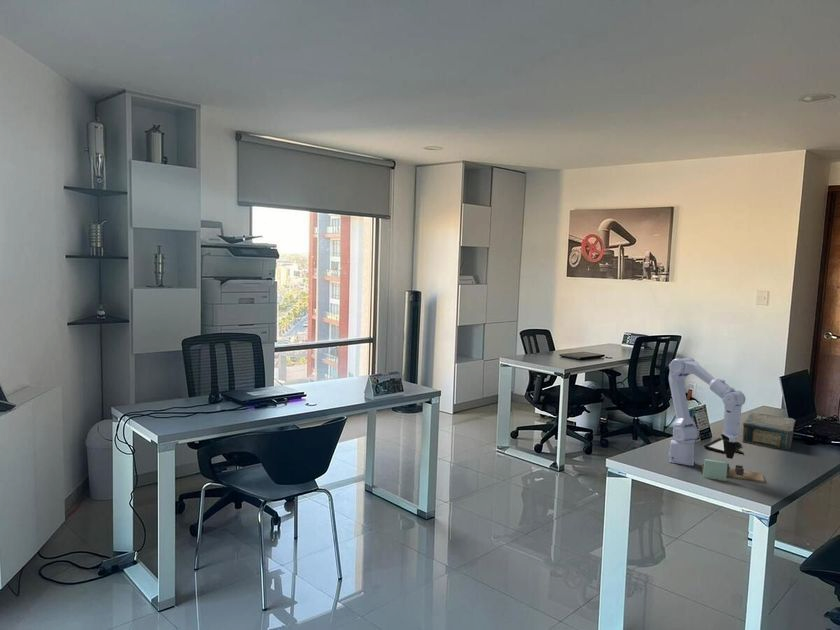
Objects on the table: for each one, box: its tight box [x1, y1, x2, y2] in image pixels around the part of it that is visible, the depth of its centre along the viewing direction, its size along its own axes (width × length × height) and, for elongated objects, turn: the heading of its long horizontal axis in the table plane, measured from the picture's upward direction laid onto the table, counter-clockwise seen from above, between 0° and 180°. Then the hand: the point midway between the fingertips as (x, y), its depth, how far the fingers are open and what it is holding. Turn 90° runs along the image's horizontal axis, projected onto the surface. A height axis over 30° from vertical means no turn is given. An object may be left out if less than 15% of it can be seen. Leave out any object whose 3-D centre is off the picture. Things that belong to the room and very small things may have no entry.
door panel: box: [702, 458, 729, 482], centre depth 237 cm, size 8×2×7 cm, turn 67°
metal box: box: [742, 411, 796, 451], centre depth 300 cm, size 21×32×10 cm, turn 146°
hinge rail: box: [700, 463, 766, 484], centre depth 243 cm, size 22×10×3 cm, turn 67°
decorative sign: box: [703, 437, 745, 456], centre depth 280 cm, size 22×2×15 cm
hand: (728, 455), depth 238 cm, fingers open, 7 cm apart
